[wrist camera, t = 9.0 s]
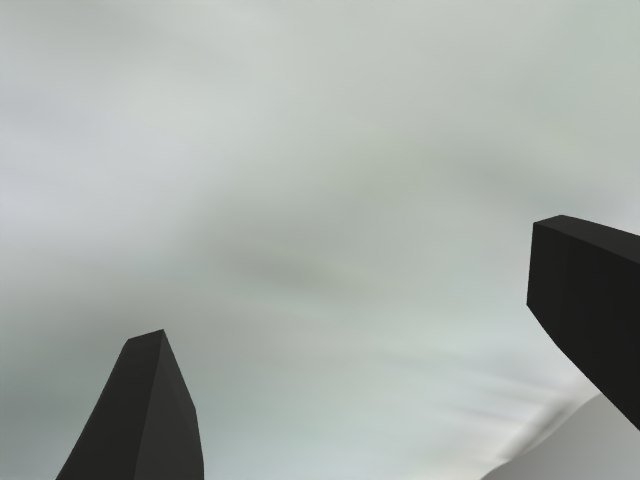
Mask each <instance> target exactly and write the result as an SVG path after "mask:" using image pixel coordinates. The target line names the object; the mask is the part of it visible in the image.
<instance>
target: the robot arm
mask: <svg viewBox="0 0 640 480" xmlns="http://www.w3.org/2000/svg"><path fill="white" fill-rule="evenodd" d="M526 305H527V306H528V307H529V309H530V310H531V312H532V313H533V314H534V316H535V317H536V319H537V320H538V322H539V323H540V324H541V326H542V327H543V328H544V330H545V331H546V332H547V334H548V335H549V336H550V338H551V339H552V340H553V341H554V343H555V344H556V345H557V346H558V347H559V349H560V350H561V351H562V352H563V353H564V354H565V355H566V356H567V357H568V358H569V359H570V360H571V361H572V362H573V363H574V364H575V365H576V366H577V367H578V368H579V370H580V371H581V372H582V373H583V374H584V375H585V376H586V377H587V378H588V379H589V380H590V381H591V382H592V383H593V384H594V385H595V386H596V387H597V388H598V389H599V390H600V391H601V392H602V393H603V394H604V395H605V396H606V397H607V398H608V399H609V400H610V401H611V402H612V403H613V404H614V405H615V406H616V407H617V408H618V409H619V410H620V411H621V412H622V413H623V414H624V415H625V417H626V418H627V419H628V420H629V421H630V422H631V423H632V424H633V425H634V426H635V427H636V428H637V429H638V430H639V431H640V236H638V235H635V234H632V233H628V232H625V231H622V230H618V229H615V228H611V227H608V226H604V225H601V224H597V223H594V222H590V221H586V220H582V219H578V218H574V217H569V216H565V215H559V216H555V217H552V218H548V219H545V220H541V221H538V222H534V223H533V233H532V245H531V257H530V269H529V281H528V292H527V304H526ZM56 480H204V463H203V455H202V449H201V442H200V435H199V429H198V422H197V416H196V410H195V407H194V404H193V402H192V399H191V397H190V394H189V392H188V389H187V387H186V384H185V382H184V379H183V377H182V374H181V372H180V369H179V367H178V364H177V362H176V359H175V357H174V354H173V352H172V349H171V347H170V344H169V342H168V339H167V337H166V334H165V332H164V329H162V330H158V331H155V332H151V333H148V334H144V335H141V336H137V337H134V338H130V339H128V340H127V342H126V343H125V345H124V346H123V348H122V351H121V353H120V355H119V357H118V359H117V361H116V364H115V366H114V368H113V370H112V372H111V374H110V377H109V379H108V381H107V383H106V385H105V387H104V389H103V391H102V393H101V395H100V398H99V400H98V402H97V404H96V406H95V408H94V410H93V412H92V414H91V415H90V417H89V419H88V421H87V423H86V425H85V427H84V429H83V431H82V433H81V435H80V437H79V439H78V441H77V443H76V444H75V446H74V448H73V450H72V452H71V454H70V455H69V457H68V459H67V461H66V462H65V464H64V466H63V468H62V469H61V471H60V473H59V475H58V476H57V478H56Z"/></svg>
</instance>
